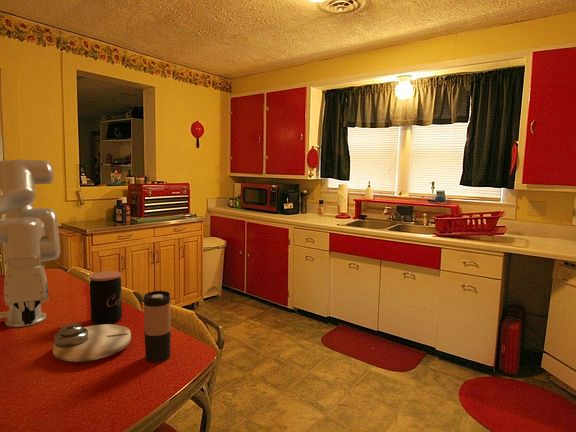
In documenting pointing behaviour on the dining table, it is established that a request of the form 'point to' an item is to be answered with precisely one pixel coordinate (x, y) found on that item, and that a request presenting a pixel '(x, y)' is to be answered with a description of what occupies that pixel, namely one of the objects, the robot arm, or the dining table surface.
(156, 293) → the travel mug
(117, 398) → the dining table surface
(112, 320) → the coffee jar
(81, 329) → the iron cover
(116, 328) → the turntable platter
